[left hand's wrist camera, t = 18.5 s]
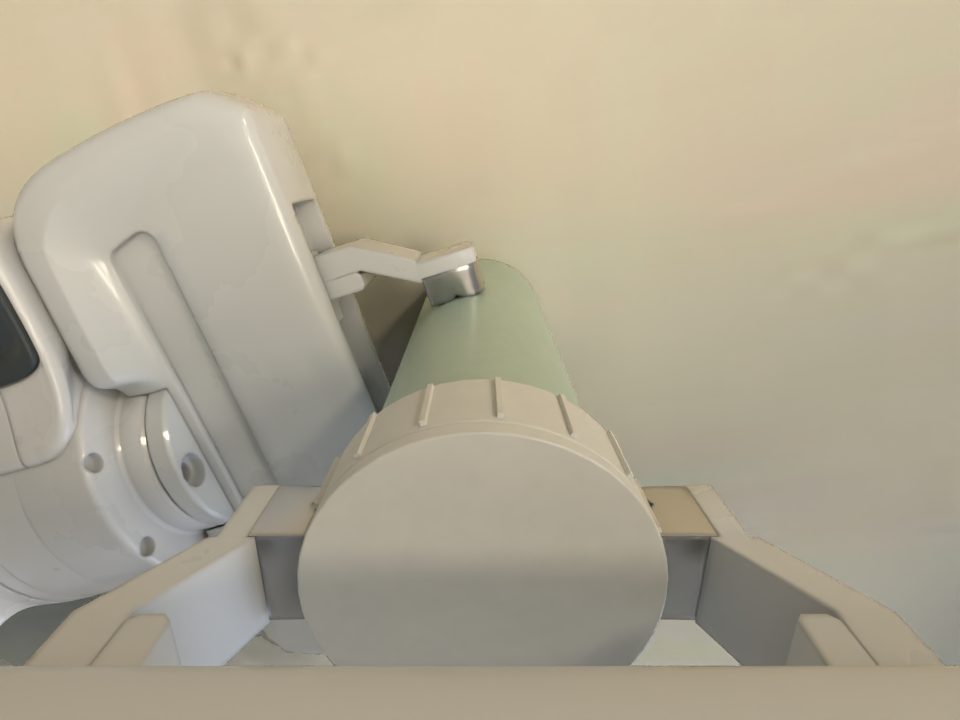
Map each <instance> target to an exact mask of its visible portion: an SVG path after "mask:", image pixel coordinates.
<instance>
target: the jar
mask: <svg viewBox="0 0 960 720" xmlns="http://www.w3.org/2000/svg"><path fill="white" fill-rule="evenodd" d="M478 261H479V265H480V268H481V272H482V275H483V279H484V283H485V284H484V286H485V289H484V290H483V291H481V292H480V293H477V294H474V295H472V296H468V297H462V296H459V295H456V296H455V298H454V299H453V300H452V301H451V302H448V303H445V304H441V305H438V306H434V307H432V306H431V304H430V301H429V298H428V295H427V297H426V299H425V302H424V304H423V307H422V309H421V312H420V314H419V317H418V320H417V322H416V325H415V327H414V330H413V332H412V335H411V337H410V340H409V343H408V345H407V348H406V350H405V353H404V355H403V358H402V361H401V363H400V366H399V368H398V371H397V373H396V376H395V379H394V381H393V384H392V386H391V389H390V391H389V394H388V396H387V399H386V402H385V404H384V407H383V409H384V408H386V407H388V406H389V405H391V404H393V403H394V402H396V401H398V400H399V399H401V398H403V397H405V396H408V395H410V394H412V393H415V392H417V391H419V390H422V389H425V388H426V387H427V384H431V383H433V385H434V386H435V385H439V384H442V383H448V382H455V381H461V380H475V379H492V380H494V379H495V377H501V380H504V381H511V382H516V383H521V384H526V385H530V386H533V387H536V388H539V389H542V390H545V391H548V392H551V393H553V394H555V395H557V396H559V394H560V393H561V394H563V395H565V397H566V400H567V401H569V402H571V403H572V404H574V405H575V406H577V407H578V408H580V409H581V406H580V404H579V401H578V399H577V396H576V394H575V391H574V389H573V386H572V384H571V381H570V379H569V376H568V374H567V371H566V369H565V366H564V364H563V361H562V359H561V356H560V354H559V351H558V349H557V346H556V344H555V341H554V339H553V336H552V334H551V331H550V329H549V326H548V324H547V321H546V319H545V316H544V314H543V311H542V309H541V306H540V304H539V301H538V299H537V296H536V294H535V292H534V290H533V288H532V286H531V285H530V283H529V282H528V281H527V279H526V278H525V277H524V276H523V275H522V274H521V273H519V272H518V271H517V270H516V269H514V268H512V267H510V266H509V265H506V264H504V263H502V262H498V261H495V260H489V259H478ZM383 409H382V410H383ZM581 410H582V409H581Z"/></svg>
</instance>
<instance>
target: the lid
mask: <svg viewBox="0 0 960 720" xmlns="http://www.w3.org/2000/svg"><path fill="white" fill-rule="evenodd" d="M312 508H315V509H317V510H316V512H315V514H314V516H313V518H312V521H311V523H310V525H309V527H308V529H307V531H306V533H305V537H304V540H303V543H302V546H301V550H300V553H299V561H298V569H297V580H298V594H299V599H300V604H301V608H302V612H303V615H304V617H305V620H306V623H307V625H308V628H309V630H310V632H311V633H312V635H313V637H314V639H315V640H316V642H317V644H318V646H319V647H320V648H321V650H322V651H323V652H324V653H325V655H326V656H327V657H328V659H329V660H330V661H331V662H332V663H333V664H334V665H335V666H630V665H631V664H632V663H633V661H634V660H635V659H636V658H637V657H638V656H639V654H640V653H641V652H642V651H643V649H644V648H645V646H646V645H647V643H648V642H649V640H650V639H651V637H652V635H653V634H654V631H655V629H656V627H657V625H658V623H659V620H660V618H661V615H662V612H663V608H664V604H665V601H666V595H667V585H668V566H667V557H666V552H665V548H664V544H663V540H662V537H661V535H660V533H661V532H662V531H661V527H660V525H659V523H658V521H657V519H656V517H655V515H654V513H653V511H652V509H651V507H650V505H649V503H648V501H647V499H646V497H645V495H644V493H643V491H642V489H641V487H640V485H639V483H638V480H637V479H635V480H634V475H633V473H632V471H631V469H630V467H629V465H628V463H627V461H626V459H625V457H624V455H623V453H622V451H621V448H620V446H619V444H618V442H617V440H616V438H615V436H614V434H613V433H612V432H611V430H610V431H608V432H606V431H605V430H604V429H603V428H602V426H601V425H600V424H598V423H597V422H596V421H595V420H594V419H593V418H592V417H591V416H589V415H588V414H587V413H586V412H584V411H583V410H581V409H580V408H578V407H577V406H575V405H574V404H572V403H571V402H569V401H567V400H566V397H565V395H563V394H561V393H560V394H559V396H557V395H555V394H553V393H551V392H548V391H545V390H542V389H539V388H536V387H533V386H530V385H526V384H521V383H516V382H511V381H504V380H501V377H495V379H494V380H492V379H475V380H461V381H455V382H448V383H442V384H439V385H435V386H434V385H433V383H431V384H427V387H426V388H425V389H422V390H419V391H417V392H415V393H412V394H410V395H408V396H405V397H403V398H401V399H399V400H398V401H396V402H394V403H393V404H391V405H389V406H388V407H386V408H384V409H383V410H382V411H380V412H379V413H378V414H376V413H375V412H373V413H372V414H371V415H370V416H369V419H368V421H367V423H366V424H365V425H364V426H363V427H362V428H361V430H360V431H359V432H358V433H357V434H356V435H355V436H354V437H353V439H352V440H351V442H350V443H349V445H348V446H347V448H346V449H345V450H344V452H343V454H342V456H341V458H338V457H336V458H335V460H334V462H333V464H332V466H331V468H330V470H329V472H328V475H327V477H326V479H325V481H324V483H323V485H322V487H321V489H320V491H319V493H318V495H317V497H316V500H315V502H314V504H313V506H312Z"/></svg>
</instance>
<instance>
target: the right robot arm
mask: <svg viewBox="0 0 960 720" xmlns="http://www.w3.org/2000/svg"><path fill="white" fill-rule="evenodd" d="M476 255H477V254H476V251H475V248H474V245H473V242H472V241H468V242H462V243H459V244H456V245H452V246H449V247H446V248H442V249H439V250H436V251H433V252H429V253H426V254H423V255H422V253H421V251H418V250H414V249H410V248H405V247H401V246H397V245H393V244H389V243H385V242H381V241H377V240H373V239H368V238H362V239H358V240H355V241H352V242H349V243H346V244H342V245H339V246H336V247H335V244H334V242H333V239H332V236H331V234H330V231H329V229H328V226H327V224H326V221H325V219H324V216H323V213H322V211H321V208H320V206H319V203H318V201H317V198H316V195H315V193H314V190H313V188H312V185H311V183H310V180H309V178H308V175H307V172H306V170H305V167H304V165H303V162H302V160H301V157H300V155H299V152H298V149H297V147H296V144H295V142H294V139H293V136H292V134H291V131H290V129H289V127H288V124H287V123H286V121H285V119H284V118H283V117H282V116H281V115H280V114H278V113H276V112H274V111H272V110H270V109H269V108H267V107H265V106H263V105H261V104H259V103H257V102H255V101H252V100H250V99H247V98H244V97H242V96H239V95H236V94H232V93H227V92H219V91H202V92H197V93H192V94H188V95H185V96H182V97H179V98H176V99H174V100H171V101H168V102H166V103H163V104H161V105H158V106H156V107H153V108H151V109H149V110H146V111H144V112H142V113H140V114H137V115H135V116H133V117H131V118H128V119H126V120H124V121H122V122H120V123H118V124H116V125H114V126H112V127H110V128H108V129H106V130H104V131H102V132H100V133H98V134H96V135H94V136H92V137H90V138H89V139H87V140H85V141H83V142H81V143H80V144H78V145H76V146H75V147H73V148H71V149H69V150H68V151H66V152H64V153H63V154H61V155H59V156H57V157H56V158H54V159H53V160H51V161H50V162H48V163H47V164H46V165H44V166H43V167H42V168H40V169H39V170H38V171H37V172H36V173H35V174H34V175H33V176H32V177H31V178H30V179H29V180H28V182H27V183H26V184H25V186H24V187H23V189H22V190H21V192H20V194H19V196H18V198H17V201H16V203H15V207H14V212H13V216H10V217H5V218H0V626H1V625H2V624H3V623H4V622H5V621H6V620H7V619H8V618H10V617H11V616H13V615H14V614H16V613H17V612H19V611H21V610H24V609H26V608H29V607H33V606H38V605H45V604H55V603H62V602H69V601H74V600H78V599H82V598H87V597H91V596H94V595H98V594H102V593H106V592H109V591H110V590H112V589H114V588H116V587H118V586H120V585H121V584H123V583H125V582H127V581H129V580H131V579H132V578H134V577H136V576H138V575H140V574H142V573H143V572H145V571H147V570H149V569H151V568H153V567H154V566H156V565H158V564H160V563H162V562H163V561H165V560H167V559H169V558H171V557H173V556H174V555H176V554H178V553H180V552H182V551H184V550H185V549H187V548H189V547H191V546H193V545H195V544H196V543H198V542H200V541H202V540H204V539H206V538H207V537H217V535H218V534H219V533H220V531H221V530H222V528H223V527H224V526H225V524H226V523H227V521H228V520H229V519H230V517H231V516H232V514H233V513H234V512H235V510H236V509H237V507H238V506H239V505H240V503H241V502H242V500H243V499H244V498H245V496H246V495H247V493H248V492H249V491H250V489H251V488H252V487H254V486H257V485H280V486H282V485H293V486H322V485H323V483H324V481H325V479H326V477H327V475H328V472H329V470H330V468H331V466H332V464H333V462H334V460H335V458H336V457H338V458H341V456H342V454H343V452H344V450H345V449H346V448H347V446H348V445H349V443H350V442H351V440H352V439H353V437H354V436H355V435H356V434H357V433H358V432H359V431H360V430H361V428H362V427H363V426H364V425H365V424H366V423H367V421H368V419H369V416H370V415H371V414H372V413H373V412H375V413H376V414H378V413H379V412H380V411H382V409H383V407H384V404H385V402H386V399H387V396H388V394H389V391H390V389H391V388H390V385H389V383H388V380H387V377H386V375H385V372H384V370H383V367H382V365H381V362H380V360H379V357H378V354H377V352H376V349H375V347H374V344H373V342H372V339H371V336H370V334H369V331H368V329H367V326H366V324H365V321H364V318H363V316H362V313H361V311H360V308H359V306H358V303H357V301H356V298H355V295H354V293H356V292H359V291H362V290H364V289H365V288H366V286H367V285H368V284H369V283H370V282H371V281H372V280H373V279H374V278H375V276H376V275H377V274H378V275H382V276H387V277H392V278H397V279H402V280H406V281H411V282H416V283H421V284H422V283H423V284H424V287H425V290H426V293H427V295H428V298H429V301H430V304H431V306H432V307H434V306H438V305H441V304H445V303H448V302H451V301H452V300H453V299H454V298H455V296H456V295H459V296H462V297H468V296H472V295H474V294H477V293H480V292H481V291H483V290H484V289H485V286H484V284H485V283H484V279H483V275H482V272H481V268H480V265H479V261H478V258H477V256H476ZM269 622H270V623H269V624H268V625H267V626H266V627H264V628H263V629H262V630H261V631H260V632H259V633H258V634H257V635H256V636H260V635H262V636H263V637H264V638H265V639H266V640H268V641H269V642H271V643H273V644H275V645H277V646H280V647H281V649H282V650H283V651H285V652H289V653H303V654H325V653H324V652H323V651H322V650H321V648H320V647H319V646H318V644H317V642H316V640H315V639H314V637H313V635H312V633H311V632H310V630H309V628H308V625H307V623H306V620H305V619H290V620H269ZM256 636H255V637H256ZM0 666H12V665H11V664H9V663H7V662H6V661H4V660H3V659H1V658H0Z"/></svg>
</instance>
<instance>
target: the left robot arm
mask: <svg viewBox="0 0 960 720" xmlns="http://www.w3.org/2000/svg"><path fill="white" fill-rule="evenodd" d="M321 487H322V486H293V485H282V486H280V485H257V486H254V487H252V488H251V489H250V491H249V492H248V493H247V495H246V496H245V498H244V499H243V500H242V502H241V503H240V505H239V506H238V507H237V509H236V510H235V512H234V513H233V514H232V516H231V517H230V519H229V520H228V521H227V523H226V524H225V526H224V527H223V528H222V530H221V531H220V533H219V534H218V535H217V537H207V538H206V539H204V540H202V541H200V542H198V543H196V544H195V545H193V546H191V547H189V548H187V549H185V550H184V551H182V552H180V553H178V554H176V555H174V556H173V557H171V558H169V559H167V560H165V561H163V562H162V563H160V564H158V565H156V566H154V567H153V568H151V569H149V570H147V571H145V572H143V573H142V574H140V575H138V576H136V577H134V578H132V579H131V580H129V581H127V582H125V583H123V584H121V585H120V586H118V587H116V588H114V589H112V590H110V591H109V592H107V593H105V594H103V595H101V596H99V597H98V598H96V599H94V600H92V601H90V602H88V603H87V604H85V605H83V606H81V607H79V608H78V609H76V610H74V611H72V612H71V613H70V614H69V615H68V617H67V618H66V619H65V620H64V621H63V622H62V623H61V624H60V625H59V626H58V627H57V629H56V630H55V631H54V632H53V633H52V634H51V635H50V636H49V637H48V638H47V639H46V641H45V642H44V643H43V644H42V645H41V646H40V647H39V648H38V649H37V650H36V651H35V652H34V654H33V655H32V656H31V657H30V658H29V659H28V660H27V661H26V662H25V663H24V664H23V666H0V720H960V666H945V665H944V664H943V663H942V662H941V660H940V659H939V658H938V657H937V656H936V655H935V654H934V653H933V652H932V651H931V650H930V649H929V648H928V646H927V645H926V644H925V643H924V642H923V641H922V640H921V639H920V638H919V637H918V636H917V635H916V634H915V632H914V631H913V630H912V629H911V628H910V627H909V626H908V625H907V624H906V623H905V622H904V621H903V620H902V618H901V617H900V616H899V615H898V614H897V613H896V612H894V611H893V610H891V609H889V608H887V607H885V606H883V605H881V604H880V603H878V602H876V601H874V600H872V599H870V598H869V597H867V596H865V595H863V594H861V593H859V592H858V591H856V590H854V589H852V588H850V587H848V586H847V585H845V584H843V583H841V582H839V581H837V580H835V579H834V578H832V577H830V576H828V575H826V574H824V573H823V572H821V571H819V570H817V569H815V568H813V567H812V566H810V565H808V564H806V563H804V562H802V561H801V560H799V559H797V558H795V557H793V556H791V555H789V554H788V553H786V552H784V551H782V550H780V549H778V548H777V547H775V546H773V545H771V544H769V543H767V542H766V541H764V540H762V539H760V538H758V537H749V536H748V535H747V533H746V532H745V531H744V529H743V528H742V527H741V525H740V524H739V522H738V521H737V520H736V518H735V517H734V516H733V514H732V513H731V512H730V510H729V509H728V508H727V506H726V505H725V503H724V502H723V501H722V499H721V498H720V497H719V495H718V494H717V493H716V491H715V490H714V489H713V487H711V486H709V485H688V486H660V487H641V489H642V491H643V493H644V495H645V497H646V499H647V501H648V503H649V505H650V507H651V509H652V511H653V513H654V515H655V517H656V519H657V521H658V523H659V525H660V527H661V531H662V532H661V533H660V535H661V537H662V540H663V544H664V548H665V552H666V557H667V566H668V585H667V595H666V601H665V604H664V608H663V612H662V615H661V618H660V619H674V620H696V623H697V624H698V625H699V626H700V627H701V628H702V629H703V630H704V631H705V632H706V633H708V634H709V635H710V636H711V637H712V638H713V639H714V640H715V641H716V642H717V643H718V644H719V645H721V646H722V647H723V648H724V649H725V650H726V651H727V652H728V653H729V654H730V655H731V656H733V657H734V658H735V659H736V660H737V661H738V662H739V663H740V664H741V665H742V666H224V665H225V664H226V663H227V662H228V661H229V660H230V659H231V658H232V657H233V656H234V655H235V654H236V653H238V652H239V651H240V650H241V649H242V648H243V647H244V646H245V645H246V644H247V643H248V642H249V641H250V640H252V639H253V638H254V637H255V636H256V635H257V634H258V633H259V632H260V631H261V630H262V629H263V628H264V627H266V626H267V625H268V624H269V623H270V622H269V620H290V619H305V617H304V615H303V612H302V608H301V604H300V599H299V594H298V580H297V569H298V561H299V553H300V550H301V546H302V543H303V540H304V537H305V533H306V531H307V529H308V527H309V525H310V523H311V521H312V518H313V516H314V514H315V512H316V510H317V509H315V508H312V506H313V504H314V502H315V500H316V497H317V495H318V493H319V491H320V489H321Z"/></svg>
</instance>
